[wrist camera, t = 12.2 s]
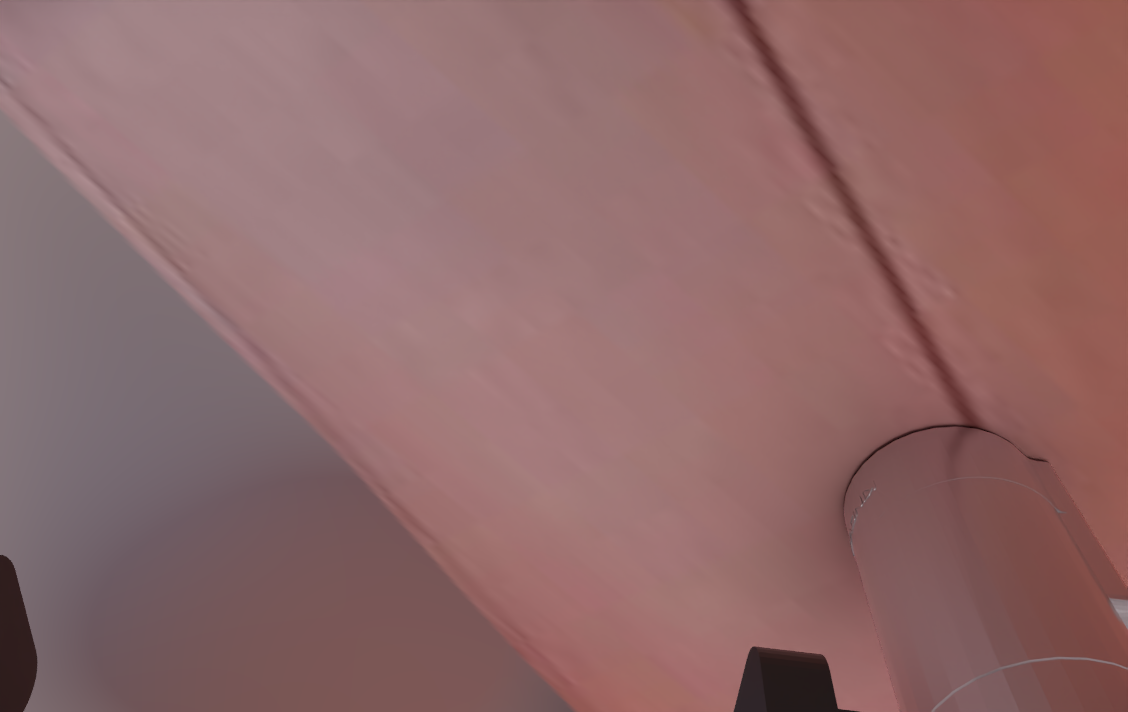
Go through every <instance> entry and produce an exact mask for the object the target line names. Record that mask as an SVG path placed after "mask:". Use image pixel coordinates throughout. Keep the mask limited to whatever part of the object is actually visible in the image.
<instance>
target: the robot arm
mask: <svg viewBox="0 0 1128 712" xmlns="http://www.w3.org/2000/svg"><path fill="white" fill-rule="evenodd" d="M843 510H844V518H845V525H846V528H847V532H848V535H849V540H850V545H851V549H852V552H853V556H855V559H856V563H857V566H858V569H859V573H860V577H861V581H862V584H863V587H864V591H865V594H866V598H867V601H868V604H869V608H870V611H871V615H872V618H873V621H874V625H875V628H876V631H877V635H878V638H879V642H880V645H881V648H882V652H883V655H884V659H885V662H886V665H887V669H888V672H889V676H890V679H891V682H892V686H893V689H894V693H895V696H896V699H897V703H898V706H899V710H900V712H1128V588H1127V587H1126V585H1125V583H1124V582H1123V580H1122V579H1121V577H1120V575H1119V574H1118V572H1117V570H1116V569H1115V567H1114V566H1113V564H1112V562H1111V561H1110V559H1109V558H1108V556H1107V554H1106V553H1105V551H1104V550H1103V548H1102V546H1101V545H1100V543H1099V542H1098V540H1097V538H1096V537H1095V535H1094V534H1093V532H1092V530H1091V529H1090V527H1089V525H1088V524H1087V522H1086V521H1085V519H1084V517H1083V516H1082V514H1081V513H1080V511H1079V509H1078V508H1077V506H1076V505H1075V503H1074V501H1073V500H1072V498H1071V497H1070V495H1069V493H1068V492H1067V490H1066V489H1065V487H1064V485H1063V484H1062V482H1061V480H1060V479H1059V477H1058V476H1057V474H1056V472H1055V471H1054V469H1053V468H1052V466H1051V465H1050V463H1048V462H1042V461H1035V460H1031V459H1029V458H1027V457H1026V456H1025V455H1023V454H1022V453H1021V452H1020V451H1019V450H1018V449H1017V448H1016V447H1015V446H1014V445H1013V444H1012V443H1010V442H1008V441H1006V440H1005V439H1003V438H1001V437H999V436H997V435H996V434H992V433H989V432H986V431H983V430H979V429H975V428H966V427H957V426H956V427H940V428H932V429H928V430H923V431H919V432H915V433H912V434H910V435H907V436H905V437H902V438H900V439H897V440H895V441H893V442H892V443H890V444H888V445H887V446H885V447H884V448H882V449H880V450H879V451H877V452H876V453H875V454H874V455H873V456H872V457H871V458H869V459H868V460H867V461H866V462H865V463H864V464H863V465H862V466H861V468H860V469H859V470H858V472H857V473H856V475H855V476H854V477H853V479H852V481H851V483H850V485H849V488H848V490H847V492H846V496H845V502H844V509H843ZM36 673H37V654H36V649H35V645H34V642H33V638H32V634H31V630H30V626H29V622H28V618H27V614H26V610H25V606H24V602H23V598H22V595H21V591H20V587H19V583H18V579H17V575H16V572H15V568H14V565H13V564H12V562H11V560H9V559H8V558H7V557H6V556H3V555H0V712H23V711H24V709H25V707H26V705H27V703H28V701H29V698H30V696H31V693H32V690H33V687H34V683H35V679H36ZM734 712H858V711H850V710H841V709H838V707H837V703H836V698H835V693H834V688H833V684H832V679H831V674H830V670H829V666H828V663H827V660H826V659H825V657H824V656H823V655H821V654H812V653H804V652H795V651H787V650H779V649H770V648H762V647H752V648H751V650H750V652H749V654H748V657H747V661H746V665H745V669H744V673H743V677H742V681H741V685H740V689H739V693H738V697H737V701H736V705H735V709H734Z"/></svg>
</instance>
